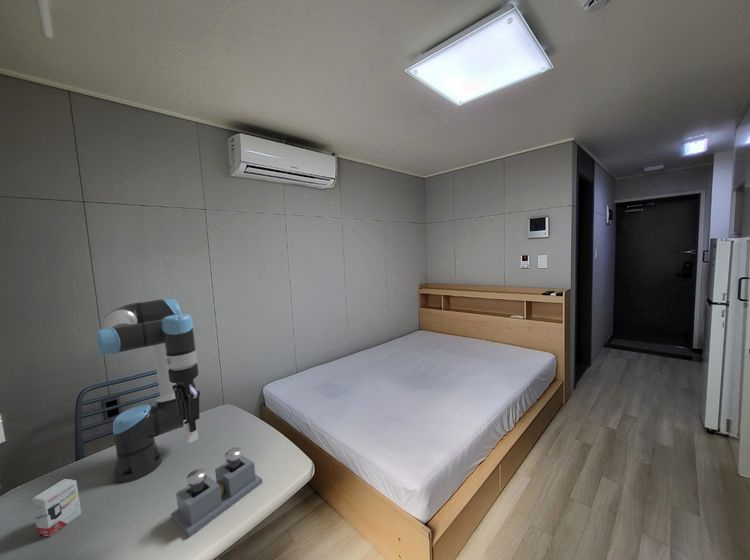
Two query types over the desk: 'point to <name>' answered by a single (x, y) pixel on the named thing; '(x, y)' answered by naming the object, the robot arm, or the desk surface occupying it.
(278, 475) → the desk surface
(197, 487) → the knob
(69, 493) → the ink box
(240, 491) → the mount
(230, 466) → the knob
